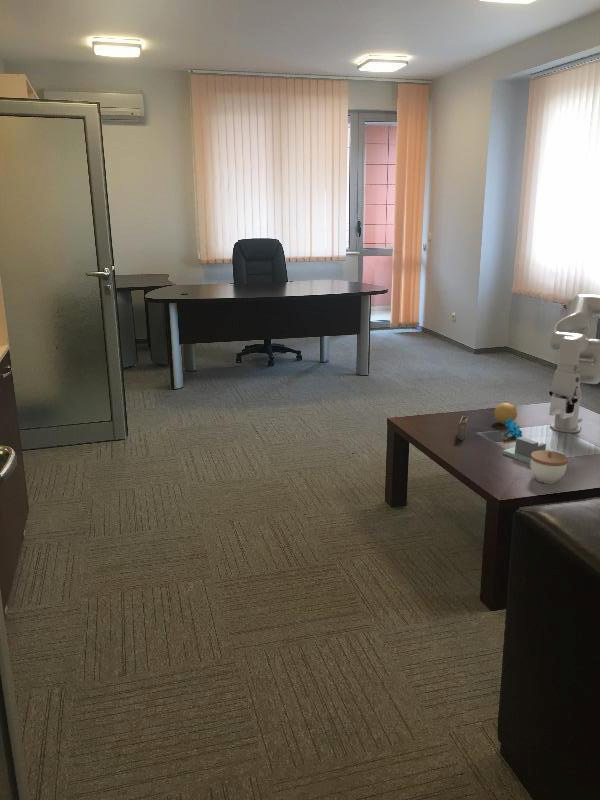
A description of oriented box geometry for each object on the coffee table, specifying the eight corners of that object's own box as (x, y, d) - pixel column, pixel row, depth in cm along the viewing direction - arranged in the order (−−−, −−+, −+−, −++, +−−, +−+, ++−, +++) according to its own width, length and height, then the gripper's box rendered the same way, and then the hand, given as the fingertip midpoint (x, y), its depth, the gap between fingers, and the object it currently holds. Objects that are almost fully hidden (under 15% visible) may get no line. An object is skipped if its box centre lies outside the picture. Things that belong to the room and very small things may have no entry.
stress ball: (496, 428, 294) (514, 418, 288) (486, 409, 297) (504, 398, 291) (506, 427, 301) (524, 417, 295) (497, 408, 304) (514, 398, 298)
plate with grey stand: (531, 445, 270) (533, 428, 268) (565, 457, 257) (567, 439, 255) (502, 453, 260) (504, 436, 258) (536, 466, 247) (539, 448, 245)
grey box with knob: (559, 411, 268) (562, 392, 265) (573, 416, 262) (576, 396, 260) (549, 414, 264) (551, 395, 261) (563, 419, 259) (565, 399, 256)
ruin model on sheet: (464, 441, 275) (466, 419, 272) (457, 440, 276) (459, 418, 273) (468, 433, 285) (470, 412, 282) (461, 432, 286) (462, 411, 283)
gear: (516, 438, 273) (503, 418, 277) (505, 445, 277) (493, 425, 280) (528, 436, 281) (515, 416, 284) (517, 443, 285) (505, 423, 288)
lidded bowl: (535, 470, 244) (538, 442, 240) (569, 479, 236) (573, 450, 233) (522, 480, 234) (526, 451, 231) (558, 489, 226) (562, 460, 223)
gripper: (593, 371, 252) (586, 414, 258) (554, 362, 266) (549, 403, 271) (581, 373, 248) (575, 417, 254) (543, 364, 262) (538, 406, 267)
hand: (562, 410), depth 262 cm, fingers closed on grey box with knob, 6 cm apart
